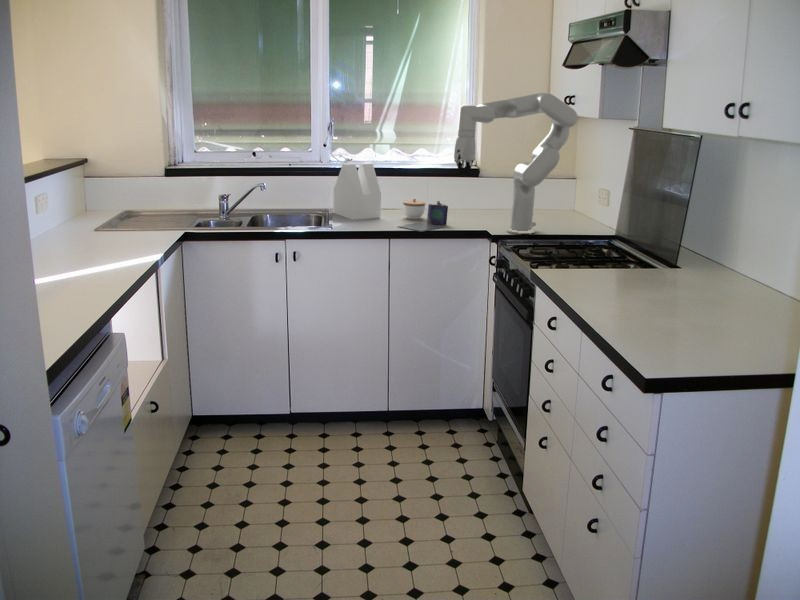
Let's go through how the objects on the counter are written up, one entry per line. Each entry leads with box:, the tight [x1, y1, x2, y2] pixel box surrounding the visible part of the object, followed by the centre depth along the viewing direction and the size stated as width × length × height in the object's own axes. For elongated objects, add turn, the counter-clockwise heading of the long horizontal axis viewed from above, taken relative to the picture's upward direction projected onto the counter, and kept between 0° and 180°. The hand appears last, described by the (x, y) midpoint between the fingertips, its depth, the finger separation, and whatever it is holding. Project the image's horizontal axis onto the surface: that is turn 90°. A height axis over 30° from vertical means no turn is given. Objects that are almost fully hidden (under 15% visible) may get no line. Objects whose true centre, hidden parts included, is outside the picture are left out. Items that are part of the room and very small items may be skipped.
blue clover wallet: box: [426, 200, 449, 226], centre depth 381 cm, size 9×3×11 cm, turn 84°
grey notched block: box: [332, 162, 382, 221], centre depth 393 cm, size 19×15×25 cm
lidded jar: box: [402, 198, 426, 220], centre depth 394 cm, size 11×11×9 cm
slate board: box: [397, 221, 445, 233], centre depth 374 cm, size 17×14×1 cm
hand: (463, 175), depth 360 cm, fingers open, 4 cm apart
